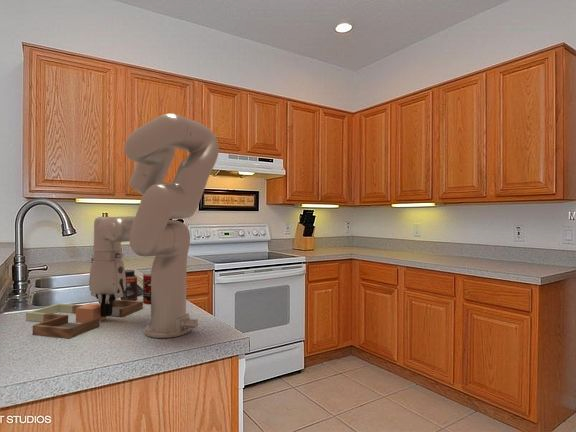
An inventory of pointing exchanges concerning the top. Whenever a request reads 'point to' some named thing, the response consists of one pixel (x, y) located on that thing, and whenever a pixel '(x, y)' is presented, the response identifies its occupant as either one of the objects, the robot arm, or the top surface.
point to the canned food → (147, 287)
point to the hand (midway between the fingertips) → (106, 315)
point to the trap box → (61, 328)
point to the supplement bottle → (130, 286)
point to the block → (88, 312)
